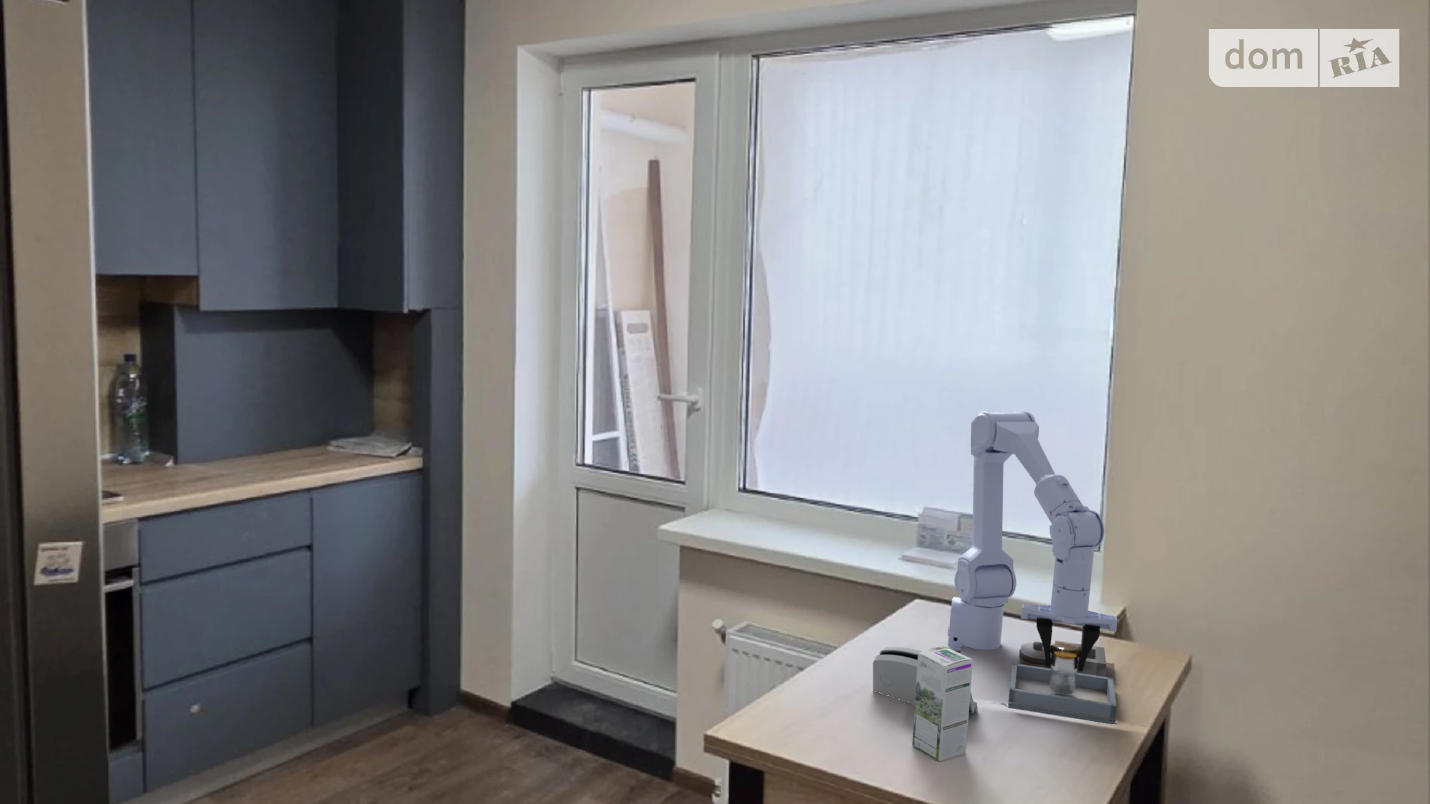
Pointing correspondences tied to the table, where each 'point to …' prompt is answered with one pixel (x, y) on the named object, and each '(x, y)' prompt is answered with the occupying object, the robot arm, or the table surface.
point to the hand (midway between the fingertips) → (1063, 666)
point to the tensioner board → (1093, 665)
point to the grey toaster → (900, 674)
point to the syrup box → (942, 703)
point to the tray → (1062, 701)
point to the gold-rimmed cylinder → (1064, 667)
